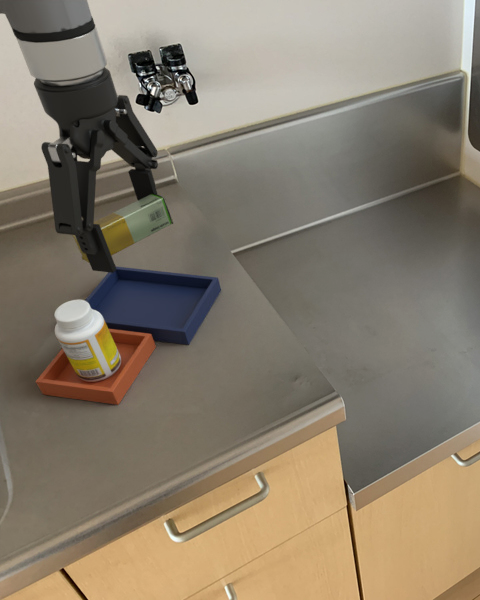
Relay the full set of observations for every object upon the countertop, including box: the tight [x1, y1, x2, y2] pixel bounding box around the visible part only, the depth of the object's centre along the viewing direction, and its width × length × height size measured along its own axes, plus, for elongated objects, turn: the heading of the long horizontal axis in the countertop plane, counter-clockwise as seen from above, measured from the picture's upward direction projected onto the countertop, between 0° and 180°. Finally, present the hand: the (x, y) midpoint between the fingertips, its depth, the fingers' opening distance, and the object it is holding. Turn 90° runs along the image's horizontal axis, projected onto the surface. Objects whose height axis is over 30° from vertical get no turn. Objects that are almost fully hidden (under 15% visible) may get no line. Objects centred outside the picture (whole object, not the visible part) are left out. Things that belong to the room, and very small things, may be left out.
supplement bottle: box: [53, 299, 121, 382], centre depth 76 cm, size 6×6×10 cm
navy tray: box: [84, 266, 222, 346], centre depth 88 cm, size 17×12×2 cm
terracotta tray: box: [35, 329, 157, 406], centre depth 79 cm, size 10×10×2 cm
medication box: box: [71, 193, 174, 263], centre depth 77 cm, size 12×3×4 cm, turn 144°
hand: (130, 240), depth 79 cm, fingers closed on medication box, 12 cm apart
